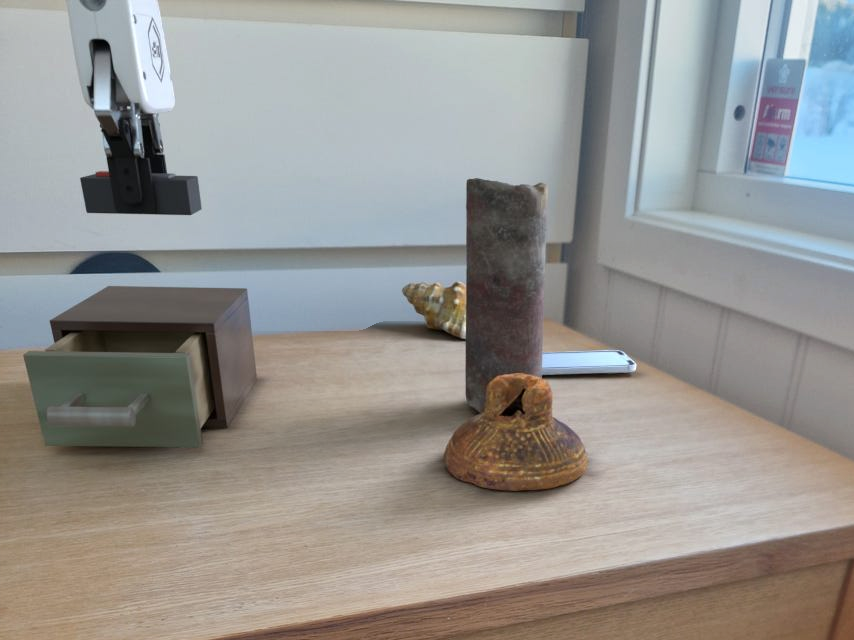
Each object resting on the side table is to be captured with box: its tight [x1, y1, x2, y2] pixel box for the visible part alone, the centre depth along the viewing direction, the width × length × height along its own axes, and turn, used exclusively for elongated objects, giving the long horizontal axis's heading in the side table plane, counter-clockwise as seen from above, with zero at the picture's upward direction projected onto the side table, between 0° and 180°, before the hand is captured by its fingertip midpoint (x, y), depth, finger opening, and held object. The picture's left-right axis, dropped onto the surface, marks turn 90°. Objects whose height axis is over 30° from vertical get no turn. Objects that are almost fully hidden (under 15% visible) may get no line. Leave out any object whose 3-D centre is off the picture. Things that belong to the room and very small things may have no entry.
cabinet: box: [49, 285, 258, 429], centre depth 83 cm, size 16×14×9 cm
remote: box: [79, 170, 202, 216], centre depth 74 cm, size 8×4×3 cm, turn 93°
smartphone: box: [542, 349, 637, 376], centre depth 99 cm, size 7×1×15 cm
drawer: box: [22, 330, 216, 448], centre depth 73 cm, size 20×12×7 cm, turn 2°
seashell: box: [401, 281, 466, 340], centre depth 112 cm, size 9×8×10 cm
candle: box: [464, 177, 549, 414], centre depth 81 cm, size 8×7×20 cm
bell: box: [443, 373, 589, 492], centre depth 71 cm, size 12×12×7 cm
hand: (144, 207), depth 74 cm, fingers closed on remote, 4 cm apart
